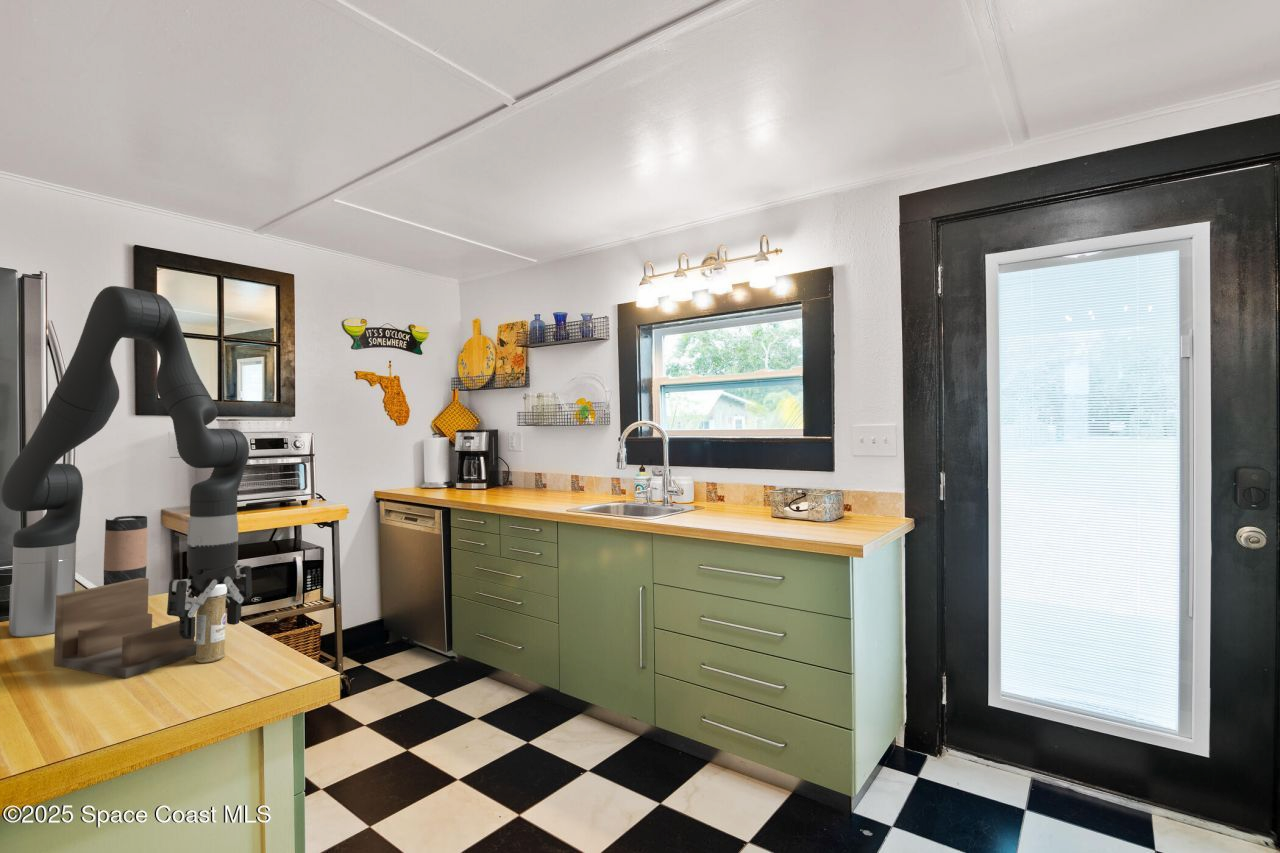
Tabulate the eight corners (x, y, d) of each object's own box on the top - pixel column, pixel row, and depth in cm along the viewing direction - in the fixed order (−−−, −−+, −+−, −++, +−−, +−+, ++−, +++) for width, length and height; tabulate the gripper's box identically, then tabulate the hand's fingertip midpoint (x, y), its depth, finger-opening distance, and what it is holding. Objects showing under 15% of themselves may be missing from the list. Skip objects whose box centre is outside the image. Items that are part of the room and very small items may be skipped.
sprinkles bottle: (225, 660, 112) (227, 584, 112) (193, 665, 109) (195, 588, 109) (225, 652, 115) (227, 579, 116) (194, 657, 113) (196, 582, 113)
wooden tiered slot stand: (53, 665, 108) (55, 595, 108) (139, 640, 121) (141, 577, 121) (126, 678, 103) (128, 605, 103) (206, 650, 116) (208, 585, 117)
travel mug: (148, 605, 145) (150, 518, 145) (105, 611, 139) (107, 521, 139) (142, 598, 150) (144, 514, 150) (100, 604, 144) (102, 517, 144)
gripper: (233, 532, 120) (231, 617, 120) (157, 545, 107) (154, 641, 106) (263, 535, 118) (262, 621, 118) (190, 548, 105) (188, 646, 104)
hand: (211, 630), depth 112 cm, fingers open, 8 cm apart
